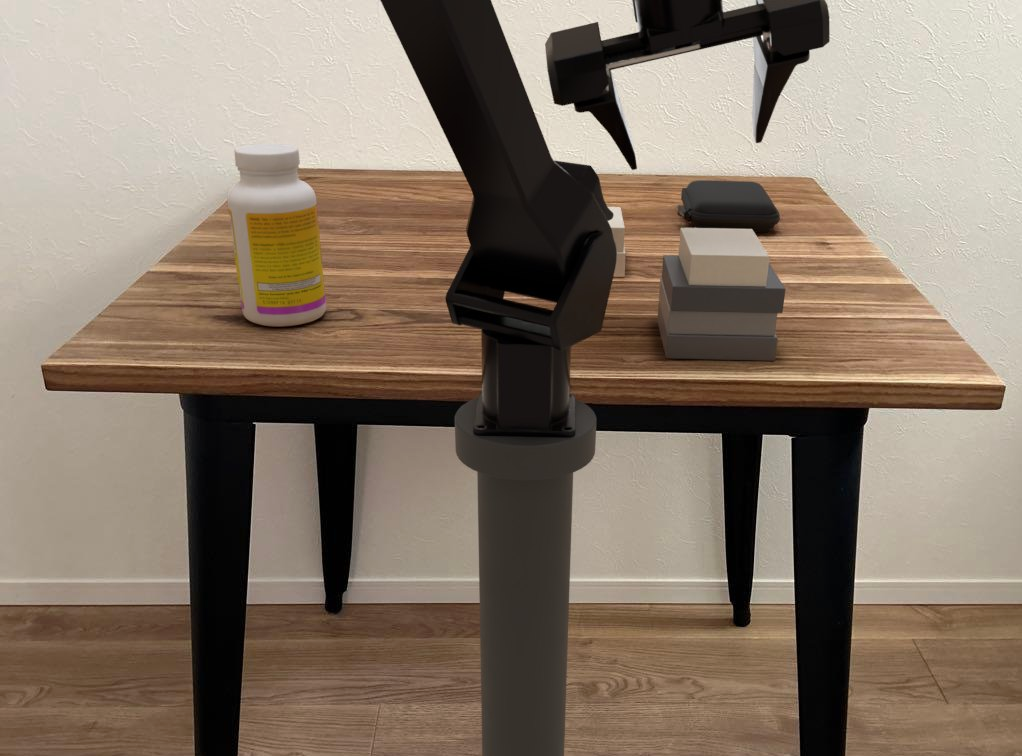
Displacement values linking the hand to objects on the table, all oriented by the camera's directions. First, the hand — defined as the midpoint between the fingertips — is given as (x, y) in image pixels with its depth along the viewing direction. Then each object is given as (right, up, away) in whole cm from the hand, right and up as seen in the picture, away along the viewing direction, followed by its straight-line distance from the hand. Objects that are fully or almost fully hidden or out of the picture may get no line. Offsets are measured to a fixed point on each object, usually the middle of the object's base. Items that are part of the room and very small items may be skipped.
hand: (695, 153), depth 78 cm
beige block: (-7, -3, +22) cm, 23 cm away
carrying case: (+9, +7, +39) cm, 40 cm away
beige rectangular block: (+2, -9, 0) cm, 9 cm away
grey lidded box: (+2, -13, +3) cm, 14 cm away
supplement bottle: (-32, -11, +7) cm, 35 cm away
